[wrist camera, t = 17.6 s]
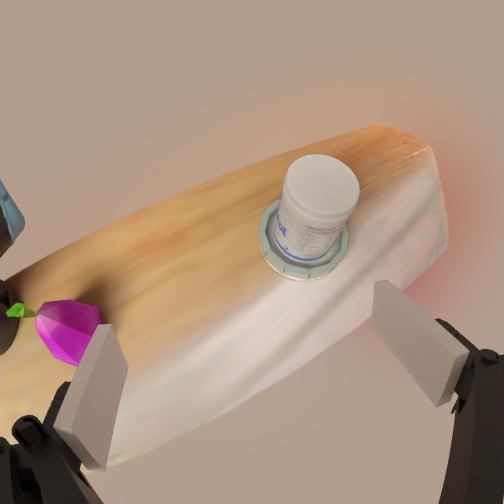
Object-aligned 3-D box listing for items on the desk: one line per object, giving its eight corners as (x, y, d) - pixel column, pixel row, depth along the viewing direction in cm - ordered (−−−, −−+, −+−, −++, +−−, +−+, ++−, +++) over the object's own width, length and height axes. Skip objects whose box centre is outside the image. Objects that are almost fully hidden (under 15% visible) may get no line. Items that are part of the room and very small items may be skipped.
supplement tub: (266, 217, 50) (274, 155, 37) (320, 208, 52) (343, 148, 38) (282, 271, 46) (298, 220, 33) (339, 259, 48) (373, 208, 34)
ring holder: (249, 269, 48) (249, 261, 45) (269, 197, 54) (270, 186, 51) (337, 290, 47) (342, 283, 44) (346, 215, 53) (351, 206, 50)
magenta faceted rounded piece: (91, 289, 45) (44, 249, 32) (122, 346, 42) (74, 324, 28) (44, 324, 42) (-12, 296, 28) (69, 381, 39) (10, 371, 25)
